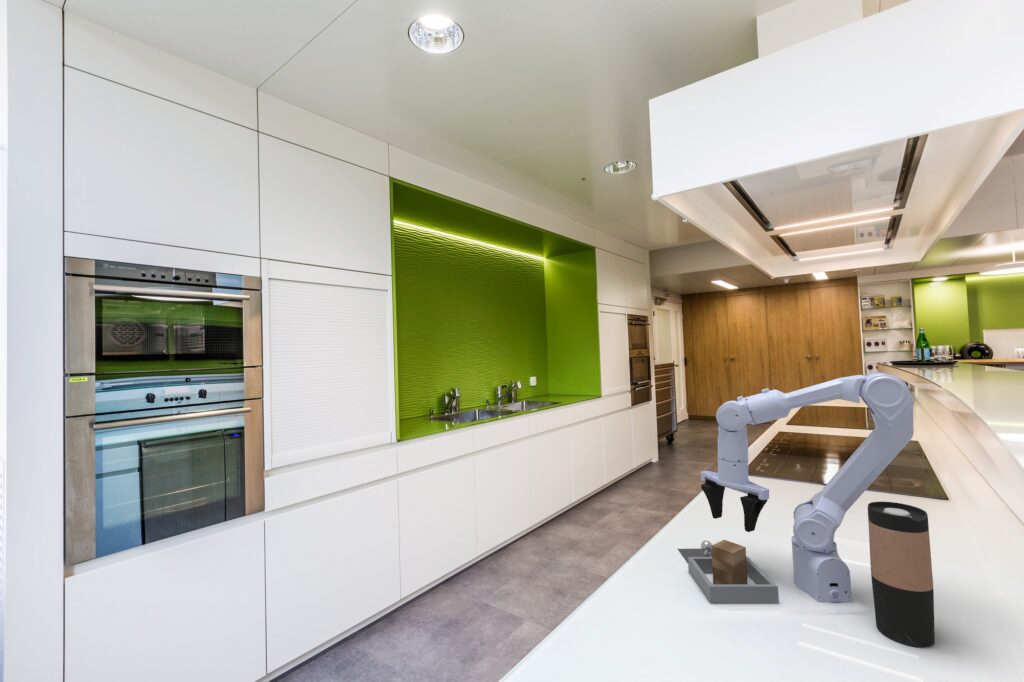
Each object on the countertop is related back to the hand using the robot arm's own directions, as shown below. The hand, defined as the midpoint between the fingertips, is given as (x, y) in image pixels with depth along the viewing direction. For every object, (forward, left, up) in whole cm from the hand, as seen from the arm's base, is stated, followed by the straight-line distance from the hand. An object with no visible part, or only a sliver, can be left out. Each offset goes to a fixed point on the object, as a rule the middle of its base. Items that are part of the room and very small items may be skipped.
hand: (732, 523), depth 93 cm
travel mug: (-20, -18, -11) cm, 29 cm away
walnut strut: (-7, +4, -10) cm, 13 cm away
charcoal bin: (-7, +4, -10) cm, 13 cm away
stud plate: (+5, +4, -10) cm, 12 cm away
